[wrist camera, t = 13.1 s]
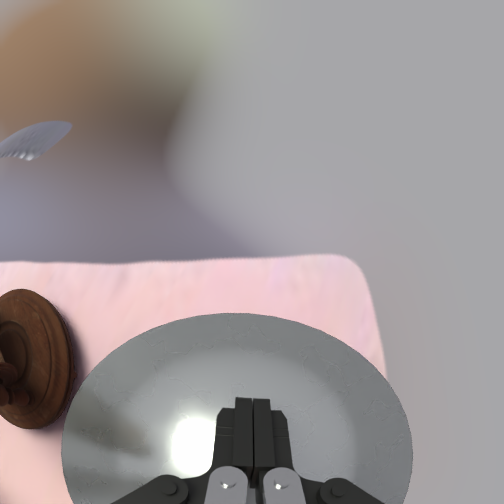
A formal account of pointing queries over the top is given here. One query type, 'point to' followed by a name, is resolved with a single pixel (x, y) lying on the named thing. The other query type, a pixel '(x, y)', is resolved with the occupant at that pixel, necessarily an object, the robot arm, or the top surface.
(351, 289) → the top surface
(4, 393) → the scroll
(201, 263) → the top surface
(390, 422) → the lid
